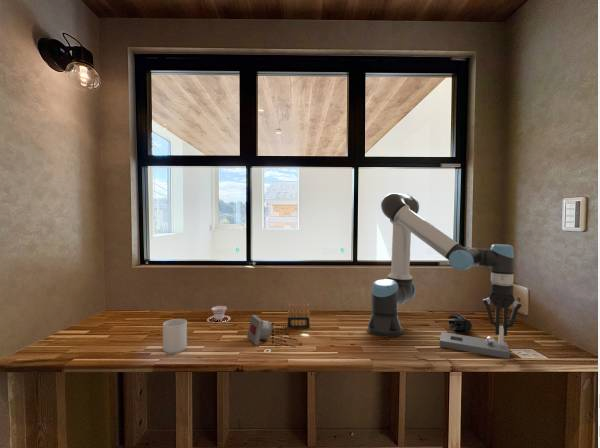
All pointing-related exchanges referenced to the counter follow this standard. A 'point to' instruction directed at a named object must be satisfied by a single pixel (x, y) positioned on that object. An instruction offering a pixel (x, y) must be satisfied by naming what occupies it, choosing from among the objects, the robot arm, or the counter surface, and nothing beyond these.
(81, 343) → the counter surface
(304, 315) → the ammunition clip
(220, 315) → the teacup
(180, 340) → the mug
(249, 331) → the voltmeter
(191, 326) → the counter surface
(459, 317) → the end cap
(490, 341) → the steel ball
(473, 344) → the hole plate
